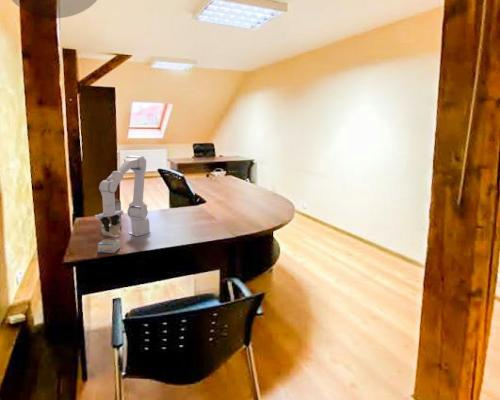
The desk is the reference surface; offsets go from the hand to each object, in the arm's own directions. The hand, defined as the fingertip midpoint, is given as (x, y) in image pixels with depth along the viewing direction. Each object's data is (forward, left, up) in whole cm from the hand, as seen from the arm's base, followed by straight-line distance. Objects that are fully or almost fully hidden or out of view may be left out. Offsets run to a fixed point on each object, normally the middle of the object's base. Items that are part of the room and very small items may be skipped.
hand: (110, 230), depth 186 cm
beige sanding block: (0, 0, -2) cm, 2 cm away
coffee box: (-21, -31, -9) cm, 38 cm away
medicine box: (0, +1, -6) cm, 6 cm away
